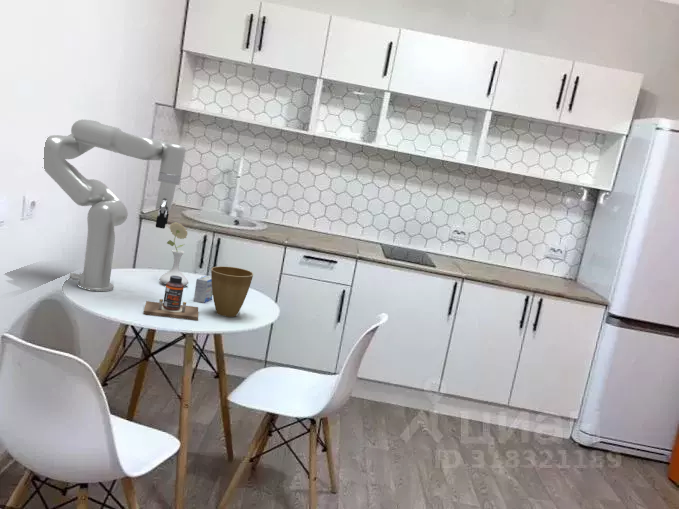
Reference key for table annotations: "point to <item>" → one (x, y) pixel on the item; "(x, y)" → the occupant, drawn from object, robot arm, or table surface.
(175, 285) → the supplement bottle
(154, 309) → the pin board
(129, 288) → the table surface
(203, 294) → the medicine box
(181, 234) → the flower in vase
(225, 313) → the plant pot
